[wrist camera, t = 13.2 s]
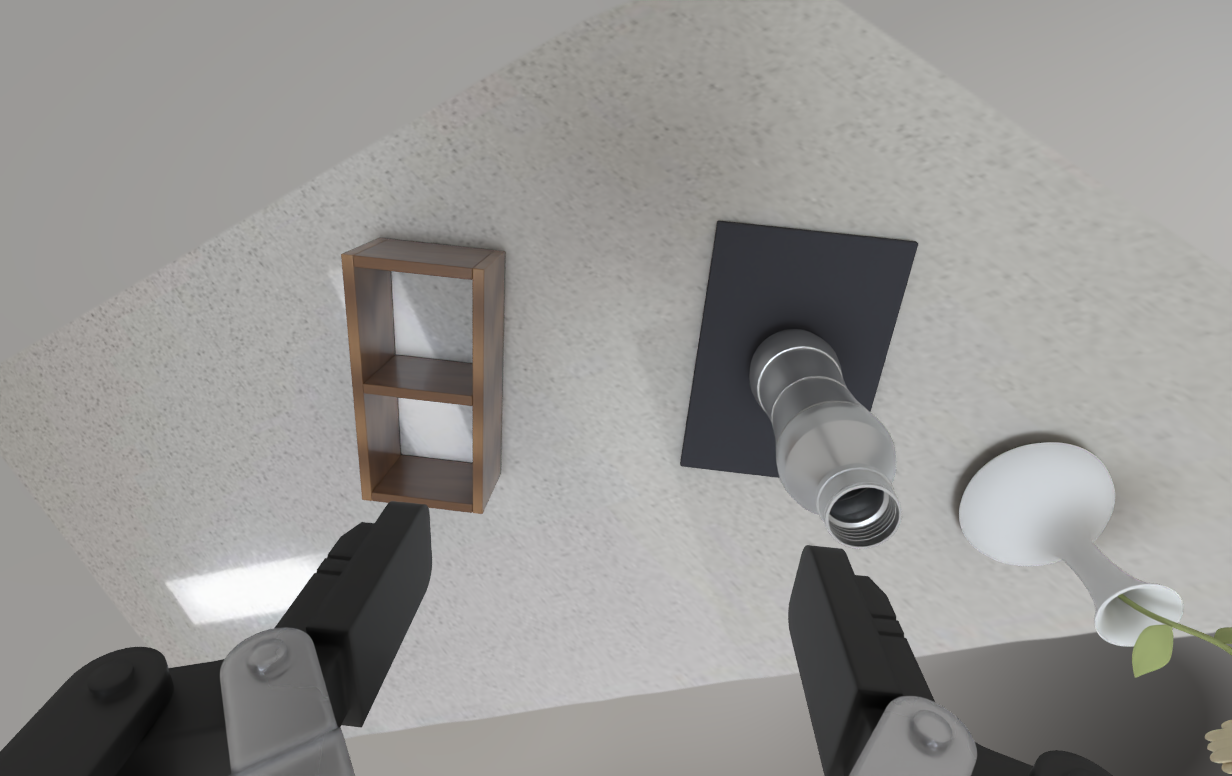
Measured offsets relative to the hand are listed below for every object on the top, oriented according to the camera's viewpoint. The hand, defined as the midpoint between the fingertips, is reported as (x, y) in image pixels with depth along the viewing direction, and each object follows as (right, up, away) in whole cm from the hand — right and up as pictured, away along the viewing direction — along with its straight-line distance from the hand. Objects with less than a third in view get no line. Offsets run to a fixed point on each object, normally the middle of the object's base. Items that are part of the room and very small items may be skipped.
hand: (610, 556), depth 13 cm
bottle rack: (-14, +6, +37) cm, 40 cm away
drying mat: (+13, +6, +35) cm, 38 cm away
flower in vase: (+34, -5, +38) cm, 52 cm away
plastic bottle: (+13, +6, +35) cm, 38 cm away
